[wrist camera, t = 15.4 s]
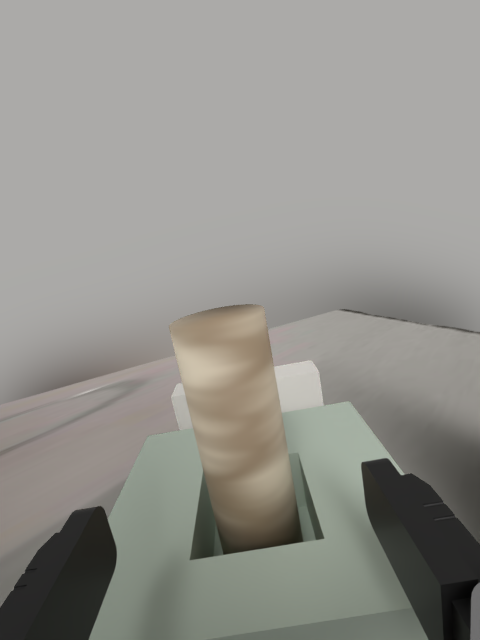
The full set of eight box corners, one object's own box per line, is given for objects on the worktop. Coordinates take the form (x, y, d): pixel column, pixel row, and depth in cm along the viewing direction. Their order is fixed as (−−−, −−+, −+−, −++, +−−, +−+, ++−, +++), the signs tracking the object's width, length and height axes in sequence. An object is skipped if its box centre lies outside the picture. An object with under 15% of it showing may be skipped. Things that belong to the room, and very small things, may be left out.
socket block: (86, 776, 12) (37, 664, 11) (165, 499, 26) (147, 435, 25) (496, 717, 12) (495, 594, 11) (357, 467, 26) (349, 401, 24)
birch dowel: (225, 608, 15) (158, 337, 12) (228, 530, 20) (178, 315, 17) (314, 594, 15) (268, 317, 12) (297, 518, 19) (260, 300, 16)
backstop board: (187, 461, 31) (171, 396, 29) (191, 443, 34) (176, 383, 32) (327, 437, 30) (318, 371, 29) (319, 421, 33) (311, 360, 32)
